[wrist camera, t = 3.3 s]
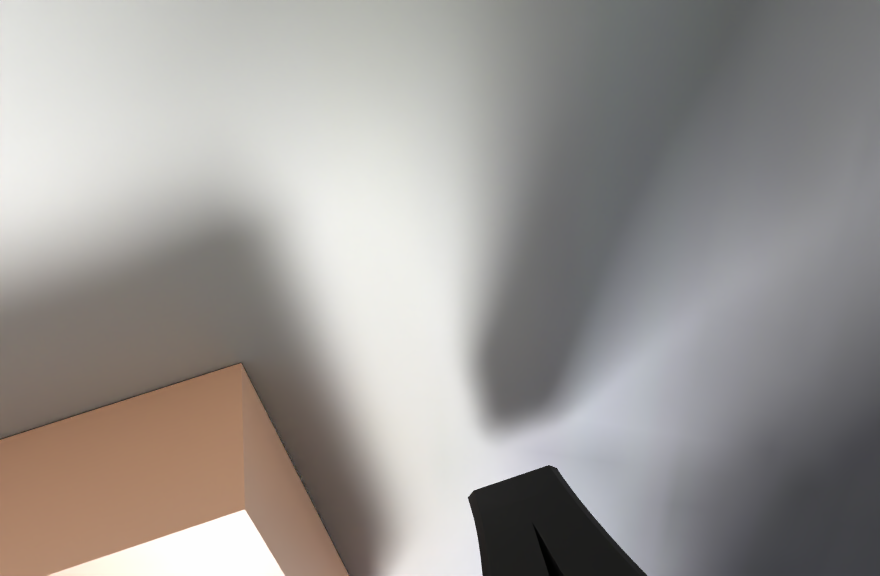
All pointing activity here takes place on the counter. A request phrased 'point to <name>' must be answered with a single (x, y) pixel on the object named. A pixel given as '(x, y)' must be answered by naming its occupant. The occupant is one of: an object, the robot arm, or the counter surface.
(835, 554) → the counter surface
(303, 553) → the peach rectangular block
